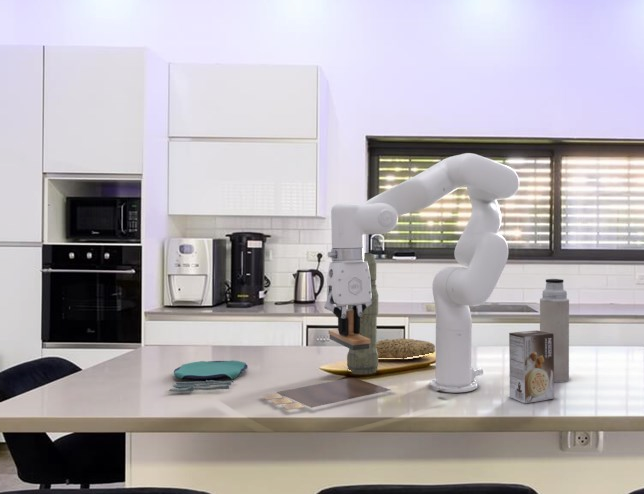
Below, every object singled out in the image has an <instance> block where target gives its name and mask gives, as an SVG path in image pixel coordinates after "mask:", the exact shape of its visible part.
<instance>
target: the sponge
mask: <svg viewBox="0 0 644 494" xmlns="http://www.w3.org/2000/svg"><path fill="white" fill-rule="evenodd" d="M376 349H377V352H378V358H407V357H413V356H419V355H425V354H429V353H432V354H434V353H436V345H435V344H434V343H432V342H430V341H426V340H421V339H420V340H419V339H413V338H404V337H403V338H395V339H387V338H386V339H383V340H378V341H376ZM378 361H409V360H408V359H378Z"/></svg>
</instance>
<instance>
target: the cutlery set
mask: <svg viewBox="0 0 644 494" xmlns="http://www.w3.org/2000/svg"><path fill="white" fill-rule="evenodd" d="M246 370H248V364H246V362H245V361H240V360H235V359H234V360H233V359H232V360H213V361H212V360H209V361H206V360H205V361H204V360H200V361H193V362H189V363H185V364H184V363H183V364H182V365H181V366H178V367H177V368H175V369H174V370H173V376H174V377H175V378H177V379H182V380H184V379H193V380H194V379H198V380H199V379H206V380H205V381H178V382H175V384H173V385H172V387H173V388H169V390H168V392H172V393H173V392H174V393H175V392H190V393H191V392H194V391H195V390H199V391H213V390H214V391H215V390H229V389H230V386H231V385H232V384H234V380H235V379H236V378H237V377H238V376H239V375H240V373H243V372H245V371H246ZM225 377H229V378H230V380H213V379H217V378H225ZM207 379H210V380H207Z"/></svg>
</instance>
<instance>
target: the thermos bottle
mask: <svg viewBox="0 0 644 494" xmlns="http://www.w3.org/2000/svg"><path fill="white" fill-rule="evenodd" d="M564 282H565V281H564V279H561V278H546V279H545V289H543V290H542V294H541V295H542V297H541V298H539V331H543V332H548V333H553V334H554V383H565V382H568V381H569V380H570V299H569V298H567V296H568V293H567V290H565V289H564Z"/></svg>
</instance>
